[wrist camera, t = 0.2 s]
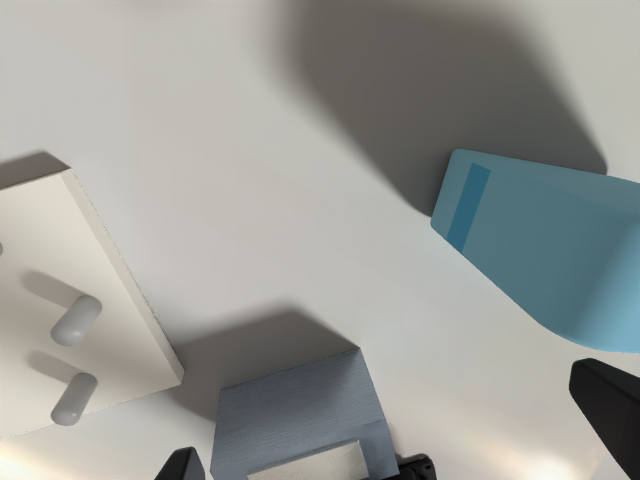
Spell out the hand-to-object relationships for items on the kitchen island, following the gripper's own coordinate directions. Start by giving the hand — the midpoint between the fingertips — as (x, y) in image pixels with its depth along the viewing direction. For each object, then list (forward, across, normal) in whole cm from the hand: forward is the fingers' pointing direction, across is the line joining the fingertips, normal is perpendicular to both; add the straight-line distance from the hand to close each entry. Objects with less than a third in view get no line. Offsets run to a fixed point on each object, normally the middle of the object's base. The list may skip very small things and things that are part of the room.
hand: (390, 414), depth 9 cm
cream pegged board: (+14, +20, +3) cm, 25 cm away
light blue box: (+14, -13, +1) cm, 19 cm away
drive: (+14, +3, +13) cm, 20 cm away
